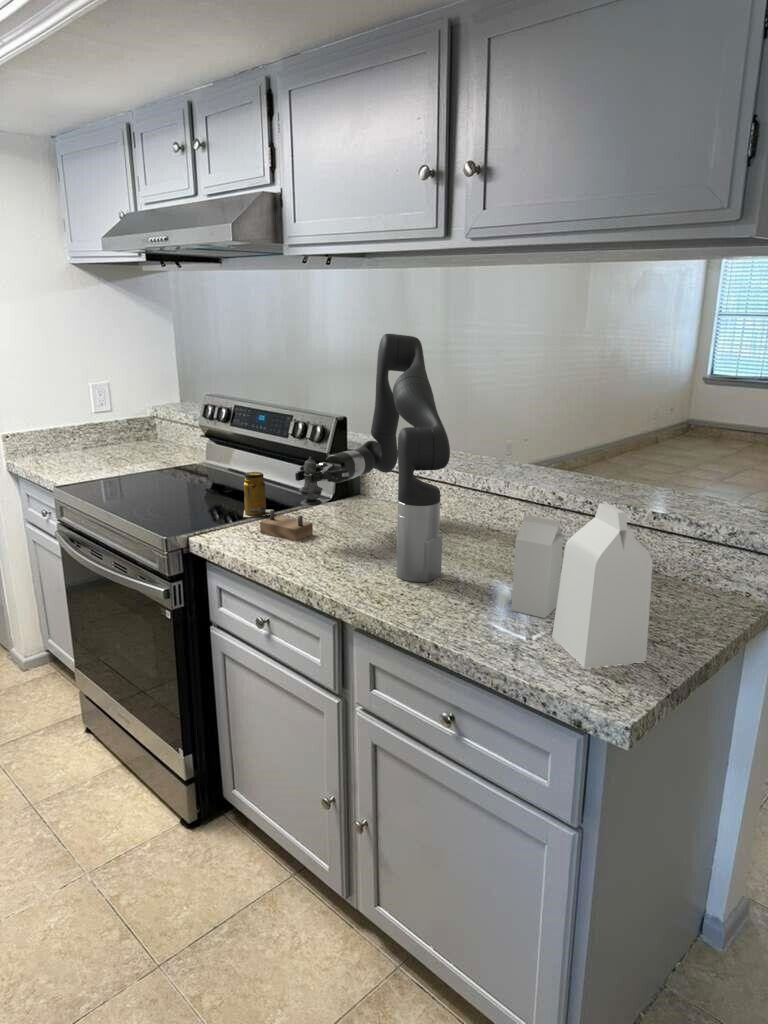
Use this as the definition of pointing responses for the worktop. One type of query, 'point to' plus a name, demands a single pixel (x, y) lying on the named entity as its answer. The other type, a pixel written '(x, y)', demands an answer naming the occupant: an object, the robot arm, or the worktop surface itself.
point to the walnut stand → (286, 527)
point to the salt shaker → (310, 486)
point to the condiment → (254, 495)
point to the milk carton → (537, 566)
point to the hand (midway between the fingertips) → (303, 477)
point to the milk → (604, 593)
